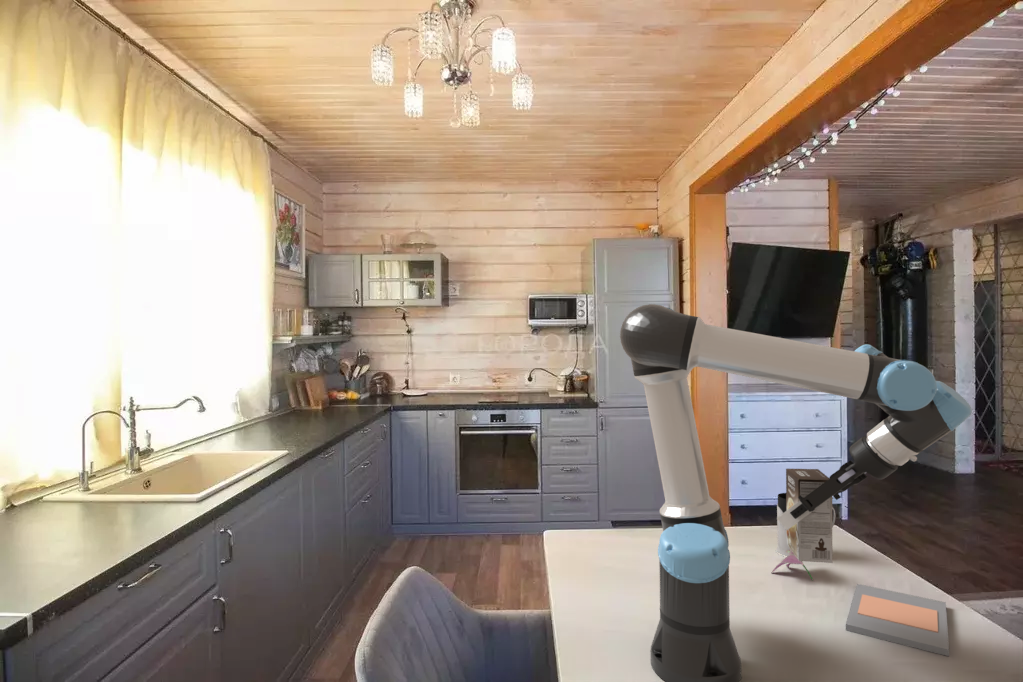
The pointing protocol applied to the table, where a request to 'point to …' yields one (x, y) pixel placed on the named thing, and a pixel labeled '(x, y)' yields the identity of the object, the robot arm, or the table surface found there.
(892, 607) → the slate plate
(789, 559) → the lily
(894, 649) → the table surface
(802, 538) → the coffee box
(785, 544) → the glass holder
